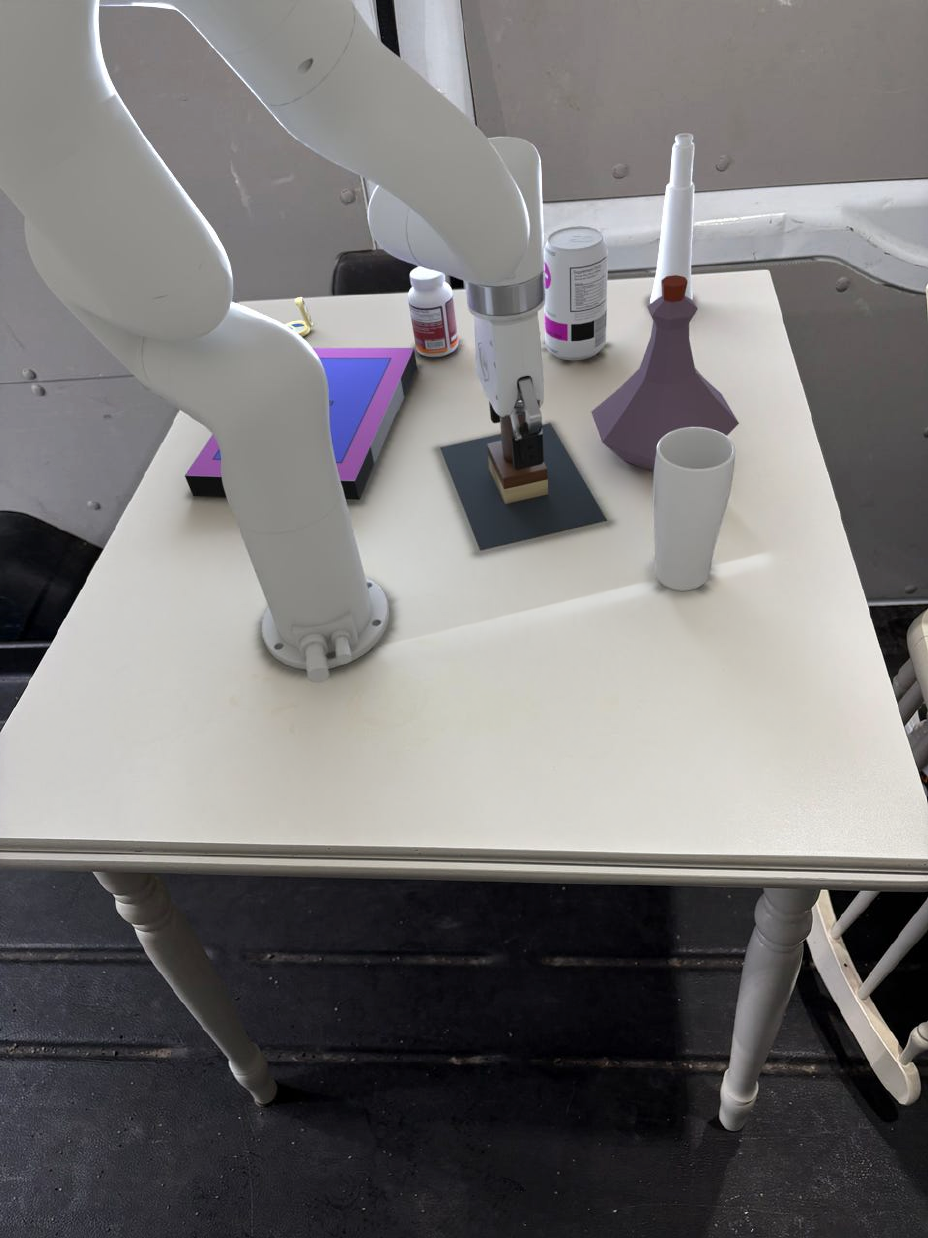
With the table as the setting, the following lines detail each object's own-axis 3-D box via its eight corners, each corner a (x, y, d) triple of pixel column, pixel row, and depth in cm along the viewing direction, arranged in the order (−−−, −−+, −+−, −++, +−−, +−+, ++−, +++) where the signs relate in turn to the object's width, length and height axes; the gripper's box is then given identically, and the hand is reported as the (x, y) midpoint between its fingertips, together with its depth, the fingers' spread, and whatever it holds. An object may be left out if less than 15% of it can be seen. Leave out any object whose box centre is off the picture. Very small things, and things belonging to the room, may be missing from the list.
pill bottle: (441, 332, 122) (431, 257, 115) (467, 346, 119) (459, 269, 111) (407, 349, 120) (395, 273, 112) (433, 363, 116) (422, 286, 109)
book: (414, 347, 114) (354, 480, 94) (417, 367, 116) (359, 502, 96) (270, 347, 118) (184, 475, 98) (276, 367, 120) (193, 495, 100)
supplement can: (540, 361, 114) (535, 250, 103) (553, 331, 119) (550, 223, 109) (599, 364, 112) (601, 251, 101) (610, 334, 117) (613, 224, 106)
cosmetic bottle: (701, 302, 121) (719, 134, 105) (668, 315, 119) (681, 146, 103) (673, 288, 125) (687, 124, 109) (641, 301, 123) (650, 136, 107)
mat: (607, 523, 89) (607, 520, 89) (480, 552, 88) (480, 550, 87) (550, 425, 103) (550, 422, 103) (440, 449, 102) (439, 447, 101)
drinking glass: (664, 606, 80) (676, 478, 69) (635, 562, 84) (642, 436, 74) (729, 588, 80) (752, 459, 70) (697, 545, 85) (713, 418, 74)
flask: (576, 484, 94) (575, 316, 80) (603, 405, 105) (607, 244, 90) (727, 500, 90) (755, 324, 75) (739, 415, 100) (766, 247, 86)
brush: (548, 494, 93) (545, 420, 86) (505, 504, 92) (499, 430, 86) (530, 459, 98) (526, 387, 91) (489, 468, 97) (482, 396, 90)
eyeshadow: (280, 327, 129) (272, 296, 125) (312, 322, 129) (305, 290, 126) (281, 340, 126) (273, 309, 122) (314, 334, 126) (306, 303, 122)
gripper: (447, 260, 85) (465, 408, 97) (490, 337, 73) (504, 495, 85) (518, 245, 85) (527, 394, 98) (573, 320, 73) (574, 479, 86)
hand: (516, 441), depth 91 cm, fingers open, 8 cm apart
